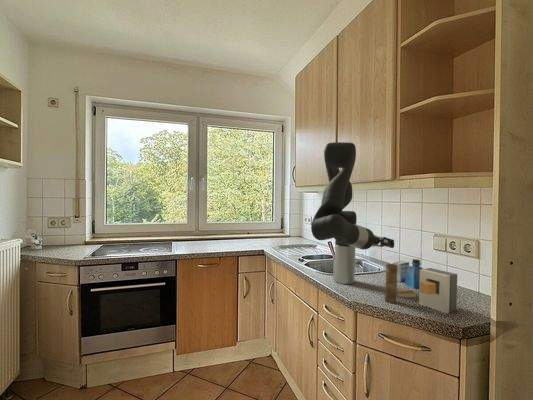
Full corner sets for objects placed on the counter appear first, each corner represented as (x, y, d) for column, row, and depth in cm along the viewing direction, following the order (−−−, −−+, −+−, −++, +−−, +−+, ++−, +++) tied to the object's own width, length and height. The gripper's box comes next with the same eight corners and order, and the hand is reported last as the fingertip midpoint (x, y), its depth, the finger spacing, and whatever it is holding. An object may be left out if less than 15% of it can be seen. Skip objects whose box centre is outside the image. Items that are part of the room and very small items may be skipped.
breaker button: (419, 291, 108) (419, 282, 108) (426, 290, 110) (426, 281, 109) (428, 294, 105) (429, 284, 105) (435, 293, 107) (435, 283, 106)
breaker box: (419, 304, 113) (419, 269, 113) (429, 301, 116) (430, 267, 116) (445, 313, 104) (446, 276, 104) (456, 310, 107) (457, 274, 107)
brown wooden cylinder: (382, 300, 116) (383, 264, 116) (389, 298, 118) (390, 263, 118) (391, 303, 113) (392, 266, 113) (398, 302, 115) (399, 265, 115)
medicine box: (400, 282, 142) (400, 264, 142) (391, 280, 145) (392, 262, 145) (409, 279, 146) (409, 262, 146) (400, 277, 150) (401, 260, 150)
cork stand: (387, 292, 126) (387, 290, 126) (401, 289, 130) (401, 287, 130) (406, 299, 118) (406, 296, 118) (420, 296, 122) (421, 293, 122)
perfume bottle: (417, 284, 139) (418, 258, 139) (426, 288, 133) (427, 261, 133) (405, 284, 138) (405, 258, 138) (413, 288, 132) (414, 261, 132)
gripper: (378, 226, 98) (401, 235, 108) (341, 225, 108) (365, 233, 118) (376, 249, 96) (399, 256, 106) (339, 246, 107) (363, 252, 117)
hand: (381, 244), depth 112 cm, fingers open, 8 cm apart
